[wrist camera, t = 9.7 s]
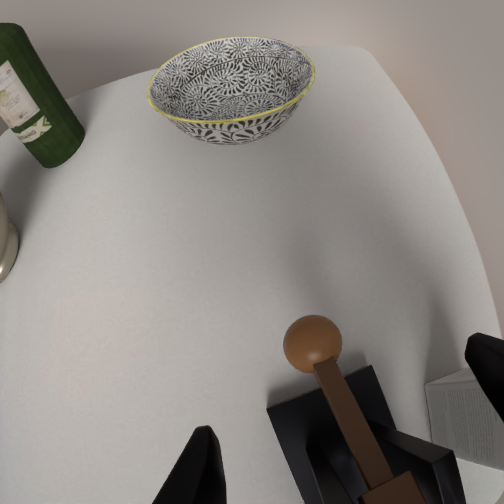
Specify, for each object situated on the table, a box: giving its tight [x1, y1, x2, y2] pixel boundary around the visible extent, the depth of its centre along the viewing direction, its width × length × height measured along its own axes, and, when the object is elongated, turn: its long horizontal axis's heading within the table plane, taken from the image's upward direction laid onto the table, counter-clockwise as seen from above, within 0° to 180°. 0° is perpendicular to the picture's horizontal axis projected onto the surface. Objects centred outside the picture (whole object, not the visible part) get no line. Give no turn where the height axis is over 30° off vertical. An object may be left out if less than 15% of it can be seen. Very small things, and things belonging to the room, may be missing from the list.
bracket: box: [266, 365, 466, 504], centre depth 12 cm, size 12×8×13 cm, turn 20°
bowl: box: [147, 36, 315, 145], centre depth 28 cm, size 16×16×8 cm
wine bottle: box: [0, 23, 84, 168], centre depth 21 cm, size 8×8×30 cm
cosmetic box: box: [425, 368, 504, 471], centre depth 12 cm, size 6×4×12 cm
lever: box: [283, 315, 427, 504], centre depth 12 cm, size 13×3×3 cm, turn 20°
